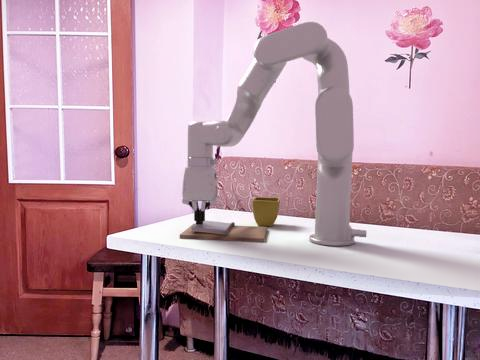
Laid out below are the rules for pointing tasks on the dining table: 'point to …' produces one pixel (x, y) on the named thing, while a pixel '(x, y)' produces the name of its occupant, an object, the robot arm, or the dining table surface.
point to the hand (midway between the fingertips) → (199, 223)
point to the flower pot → (265, 210)
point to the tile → (211, 227)
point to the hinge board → (230, 234)
